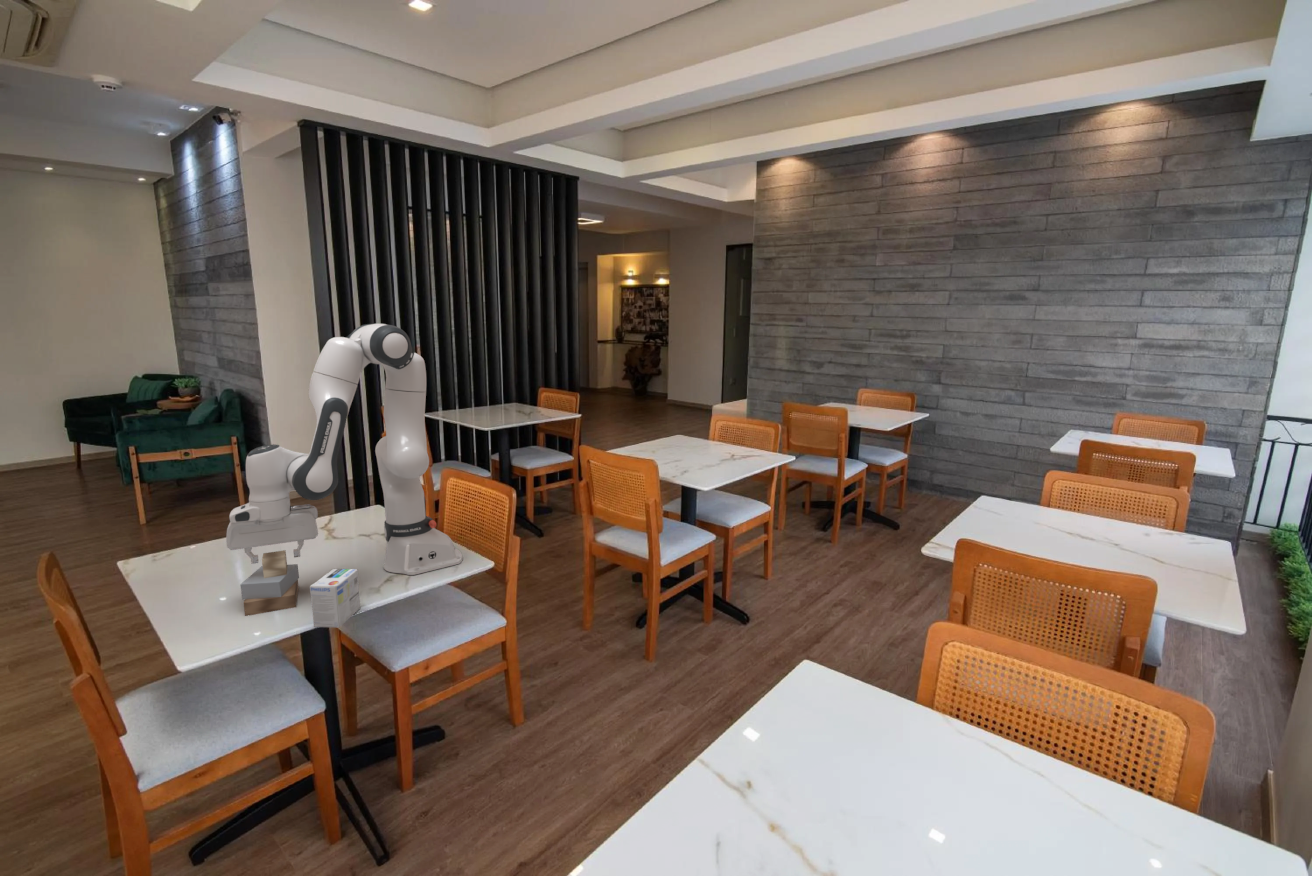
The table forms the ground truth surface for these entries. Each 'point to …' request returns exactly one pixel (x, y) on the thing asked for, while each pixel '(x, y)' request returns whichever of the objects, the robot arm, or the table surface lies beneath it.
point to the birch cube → (274, 564)
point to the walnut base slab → (272, 602)
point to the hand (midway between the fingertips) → (276, 559)
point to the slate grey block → (268, 584)
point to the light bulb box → (335, 597)
